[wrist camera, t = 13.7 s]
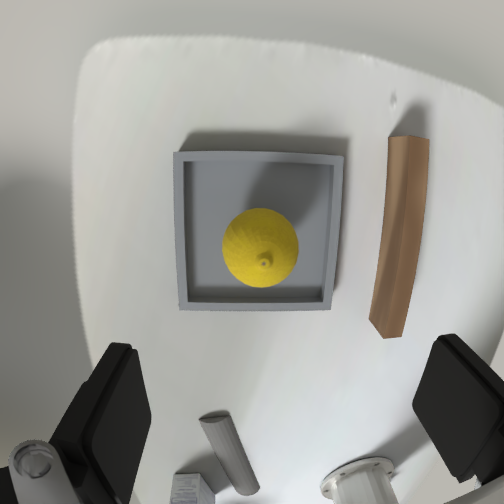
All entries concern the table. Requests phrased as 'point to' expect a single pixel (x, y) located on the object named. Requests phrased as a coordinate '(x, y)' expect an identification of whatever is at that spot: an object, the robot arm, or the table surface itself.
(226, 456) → the half round rod
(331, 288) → the gray tray
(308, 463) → the table surface
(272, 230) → the lemon
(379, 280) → the walnut wall
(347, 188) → the table surface
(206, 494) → the medicine box
